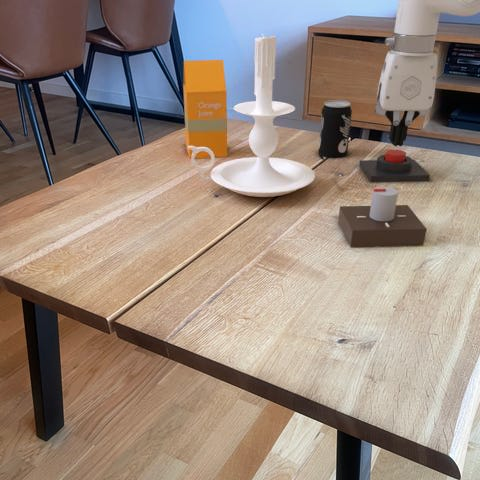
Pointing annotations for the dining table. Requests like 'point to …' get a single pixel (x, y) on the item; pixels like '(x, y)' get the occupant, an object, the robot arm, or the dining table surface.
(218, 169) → the candlestick
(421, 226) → the panel
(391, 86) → the robot arm
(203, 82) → the orange juice
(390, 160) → the power button
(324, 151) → the beverage can
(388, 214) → the warmer dial
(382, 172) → the dark grey device base
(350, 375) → the dining table surface
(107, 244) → the dining table surface
